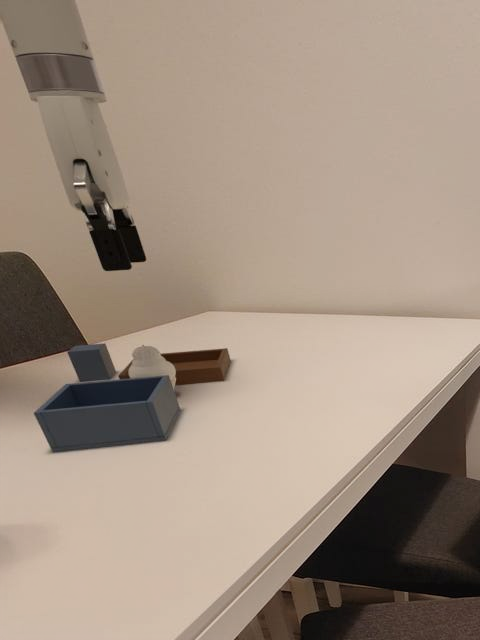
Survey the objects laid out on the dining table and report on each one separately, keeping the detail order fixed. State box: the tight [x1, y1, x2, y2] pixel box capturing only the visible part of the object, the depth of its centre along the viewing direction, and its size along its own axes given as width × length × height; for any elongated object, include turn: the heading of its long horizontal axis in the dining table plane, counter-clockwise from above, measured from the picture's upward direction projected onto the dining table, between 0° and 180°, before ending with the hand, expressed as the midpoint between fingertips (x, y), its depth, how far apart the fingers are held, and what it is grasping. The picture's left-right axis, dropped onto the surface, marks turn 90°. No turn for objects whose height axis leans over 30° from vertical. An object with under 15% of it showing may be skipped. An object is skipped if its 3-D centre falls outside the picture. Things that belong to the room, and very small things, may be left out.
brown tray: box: [118, 347, 232, 386], centre depth 94 cm, size 15×14×2 cm
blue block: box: [67, 343, 117, 383], centre depth 94 cm, size 4×4×4 cm
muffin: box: [128, 344, 176, 390], centre depth 83 cm, size 6×6×7 cm
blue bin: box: [33, 375, 181, 454], centre depth 72 cm, size 12×12×5 cm
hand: (126, 266), depth 75 cm, fingers open, 9 cm apart
